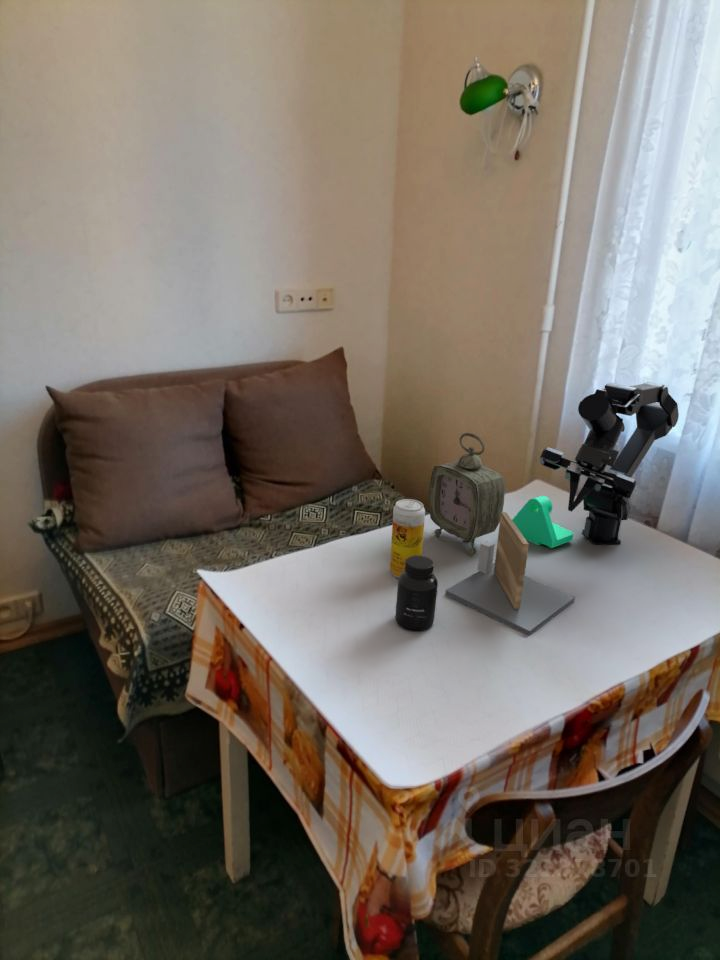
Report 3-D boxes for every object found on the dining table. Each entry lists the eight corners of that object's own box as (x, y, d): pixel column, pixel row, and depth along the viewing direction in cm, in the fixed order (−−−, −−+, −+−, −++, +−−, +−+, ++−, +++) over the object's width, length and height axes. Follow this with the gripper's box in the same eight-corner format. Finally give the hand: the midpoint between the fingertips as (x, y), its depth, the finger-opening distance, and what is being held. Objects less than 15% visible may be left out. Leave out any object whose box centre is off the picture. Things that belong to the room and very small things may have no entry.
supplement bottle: (408, 637, 113) (412, 575, 108) (388, 616, 118) (391, 556, 114) (441, 627, 116) (447, 566, 111) (420, 607, 121) (425, 549, 117)
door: (498, 571, 132) (506, 512, 127) (519, 608, 120) (528, 543, 115) (493, 571, 132) (501, 512, 127) (514, 608, 120) (523, 544, 115)
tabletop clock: (425, 534, 149) (434, 428, 140) (455, 525, 154) (464, 421, 145) (472, 561, 138) (484, 447, 129) (502, 550, 144) (515, 439, 134)
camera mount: (573, 544, 148) (580, 501, 144) (550, 552, 144) (557, 509, 140) (532, 524, 157) (538, 483, 153) (509, 531, 153) (514, 490, 149)
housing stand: (491, 566, 137) (495, 535, 134) (574, 601, 125) (579, 568, 122) (443, 593, 126) (446, 561, 123) (528, 635, 114) (534, 600, 112)
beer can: (385, 576, 131) (389, 507, 126) (395, 563, 137) (399, 496, 131) (414, 583, 129) (420, 513, 124) (424, 569, 134) (429, 501, 129)
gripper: (556, 412, 131) (523, 483, 129) (652, 446, 124) (619, 521, 122) (556, 430, 141) (526, 496, 139) (645, 462, 134) (614, 532, 133)
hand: (569, 510), depth 133 cm, fingers closed
